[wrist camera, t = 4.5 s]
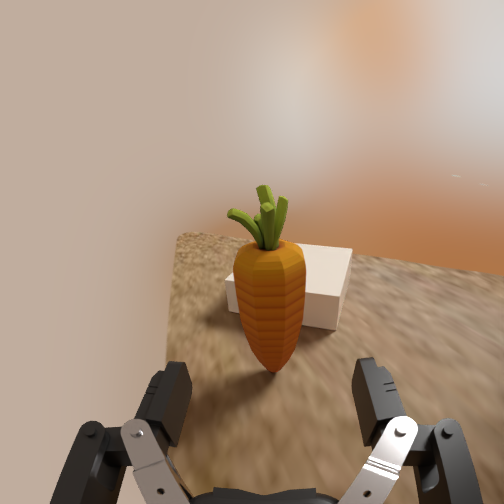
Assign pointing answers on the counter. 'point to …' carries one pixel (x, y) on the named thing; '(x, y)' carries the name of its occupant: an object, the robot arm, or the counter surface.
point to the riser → (316, 285)
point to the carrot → (269, 283)
